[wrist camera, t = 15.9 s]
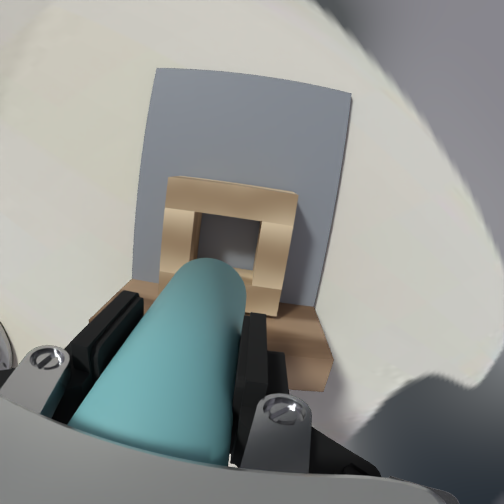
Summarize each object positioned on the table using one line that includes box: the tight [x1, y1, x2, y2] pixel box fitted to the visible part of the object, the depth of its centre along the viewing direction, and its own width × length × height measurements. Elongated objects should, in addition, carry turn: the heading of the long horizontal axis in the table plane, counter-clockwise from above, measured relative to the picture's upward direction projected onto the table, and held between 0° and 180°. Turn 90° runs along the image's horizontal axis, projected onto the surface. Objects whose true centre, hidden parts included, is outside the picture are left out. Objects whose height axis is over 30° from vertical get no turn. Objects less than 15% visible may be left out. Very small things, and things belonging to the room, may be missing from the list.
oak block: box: [158, 176, 299, 316], centre depth 27 cm, size 10×10×4 cm
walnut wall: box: [89, 279, 334, 392], centre depth 27 cm, size 3×18×10 cm, turn 82°
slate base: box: [132, 68, 351, 307], centre depth 29 cm, size 24×18×1 cm
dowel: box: [67, 258, 247, 466], centre depth 8 cm, size 4×4×14 cm
